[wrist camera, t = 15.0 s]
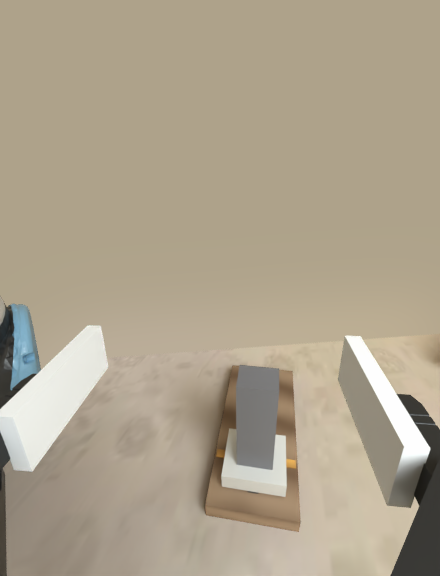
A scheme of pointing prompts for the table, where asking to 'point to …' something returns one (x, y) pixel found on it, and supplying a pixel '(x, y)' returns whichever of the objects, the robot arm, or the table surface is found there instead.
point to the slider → (256, 435)
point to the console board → (256, 504)
